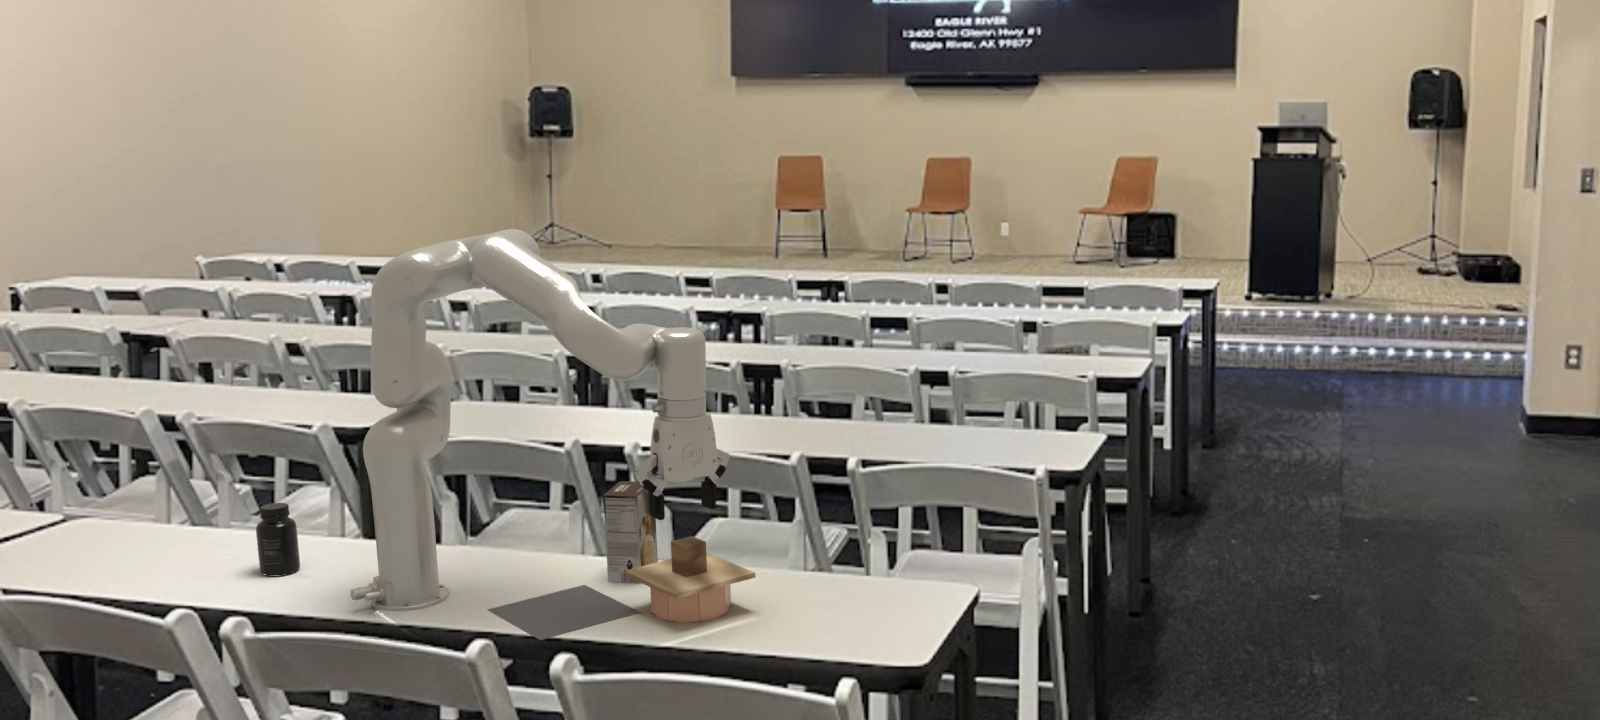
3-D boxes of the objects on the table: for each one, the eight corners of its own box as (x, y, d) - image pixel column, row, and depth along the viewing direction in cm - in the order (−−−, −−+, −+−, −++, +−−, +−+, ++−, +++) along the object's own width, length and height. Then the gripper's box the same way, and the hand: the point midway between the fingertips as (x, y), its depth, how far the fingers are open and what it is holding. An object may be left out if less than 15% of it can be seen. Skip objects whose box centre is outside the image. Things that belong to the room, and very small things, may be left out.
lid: (676, 599, 234) (674, 562, 233) (624, 575, 246) (623, 540, 244) (755, 577, 243) (754, 542, 242) (702, 555, 254) (701, 522, 253)
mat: (540, 643, 233) (540, 639, 233) (487, 613, 248) (487, 609, 247) (641, 615, 244) (641, 612, 244) (584, 588, 258) (584, 584, 258)
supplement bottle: (308, 568, 273) (302, 503, 271) (277, 579, 267) (271, 513, 265) (283, 562, 277) (277, 498, 274) (251, 573, 271) (245, 508, 269)
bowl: (680, 631, 237) (679, 594, 236) (639, 611, 246) (638, 575, 245) (743, 613, 244) (742, 577, 243) (701, 594, 254) (700, 559, 252)
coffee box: (624, 568, 268) (619, 479, 265) (659, 570, 267) (654, 480, 264) (607, 586, 259) (602, 494, 256) (643, 587, 258) (638, 495, 255)
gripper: (647, 419, 231) (649, 528, 234) (741, 404, 241) (741, 508, 245) (621, 410, 237) (623, 516, 240) (714, 395, 247) (715, 498, 250)
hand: (683, 512), depth 242 cm, fingers open, 9 cm apart
